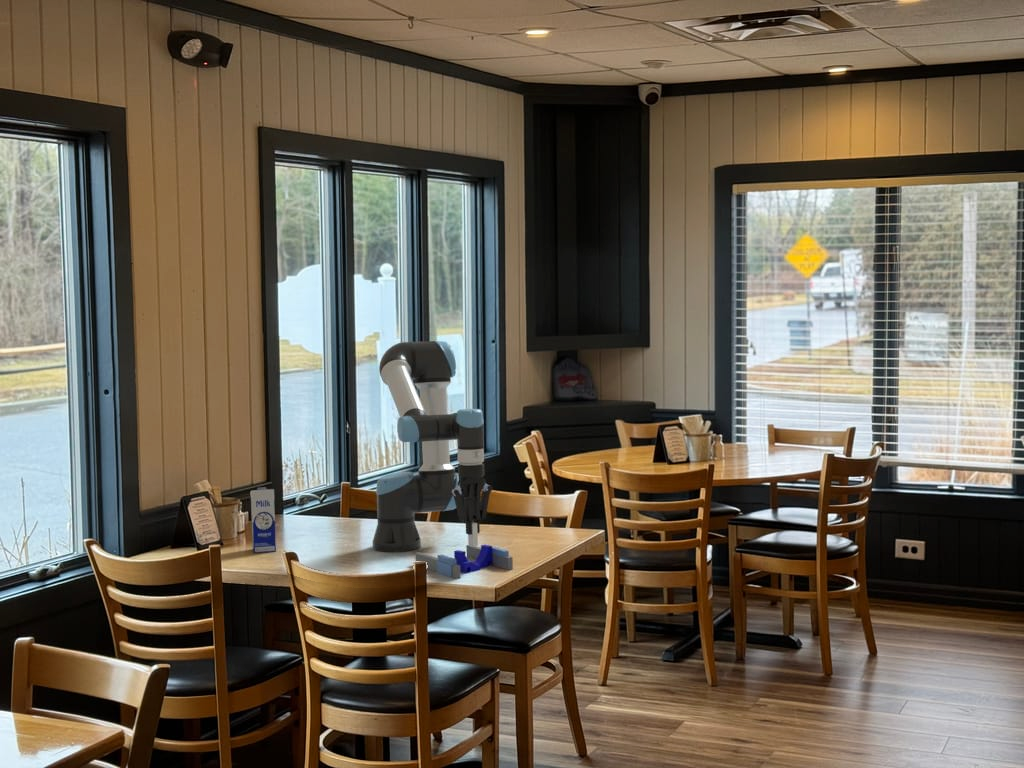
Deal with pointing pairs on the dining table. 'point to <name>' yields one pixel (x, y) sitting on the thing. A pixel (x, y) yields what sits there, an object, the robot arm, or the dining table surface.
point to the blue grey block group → (449, 565)
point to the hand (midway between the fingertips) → (473, 545)
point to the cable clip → (480, 562)
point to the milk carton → (263, 520)
